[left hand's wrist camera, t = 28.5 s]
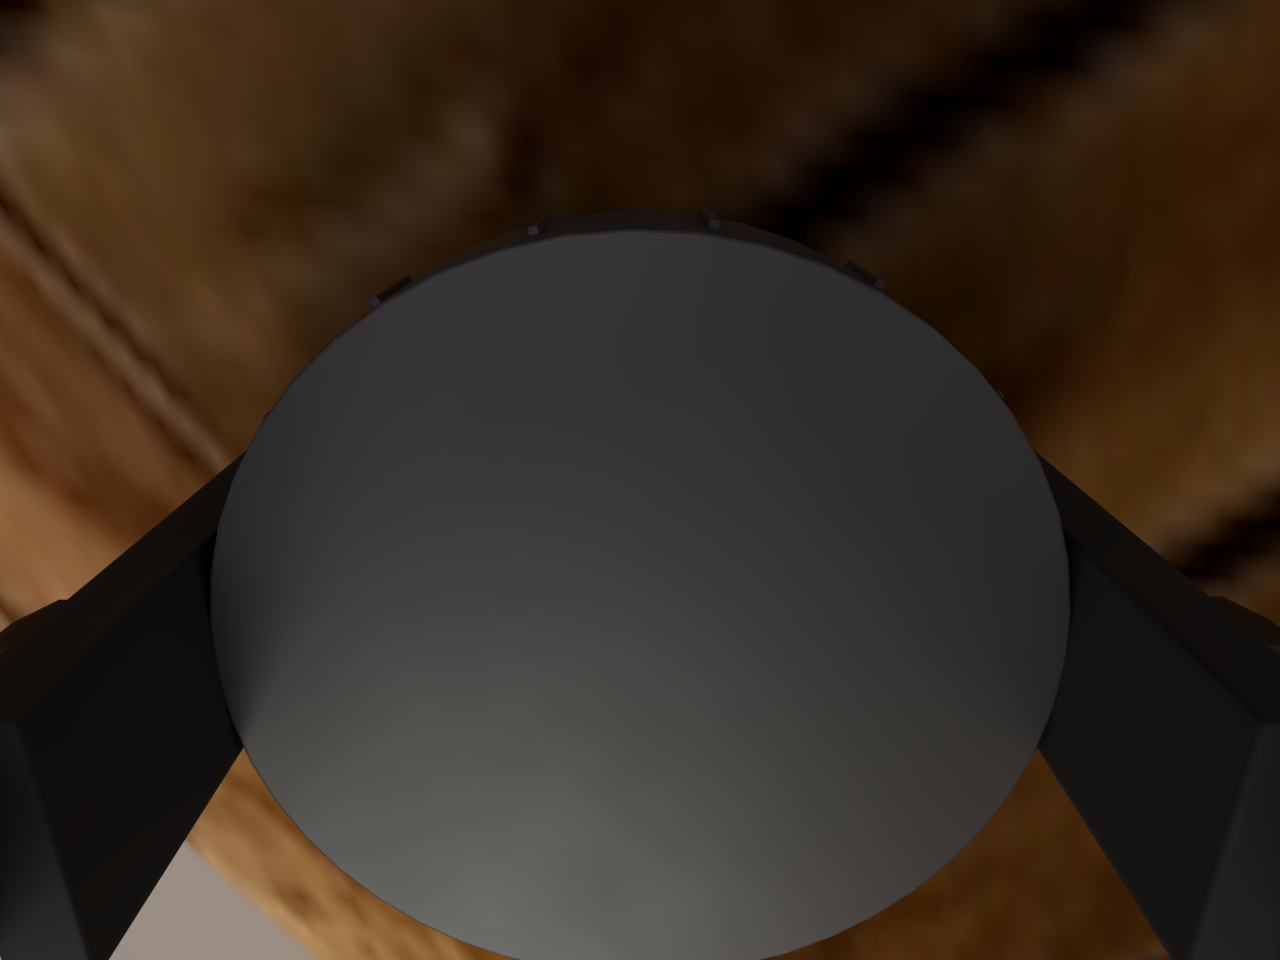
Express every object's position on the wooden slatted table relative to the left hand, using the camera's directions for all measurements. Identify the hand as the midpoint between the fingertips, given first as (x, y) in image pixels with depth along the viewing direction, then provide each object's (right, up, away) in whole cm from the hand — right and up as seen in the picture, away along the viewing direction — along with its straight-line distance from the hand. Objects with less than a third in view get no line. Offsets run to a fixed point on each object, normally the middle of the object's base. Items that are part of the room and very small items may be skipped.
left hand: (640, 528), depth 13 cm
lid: (0, -1, -3) cm, 3 cm away
